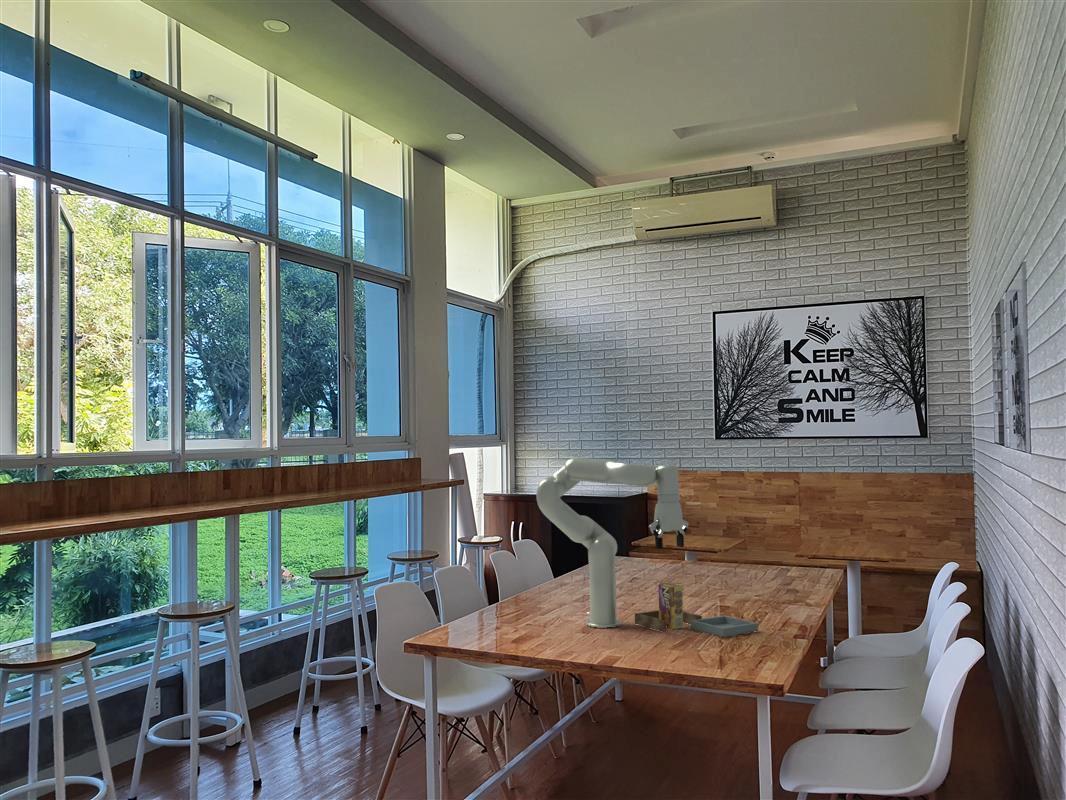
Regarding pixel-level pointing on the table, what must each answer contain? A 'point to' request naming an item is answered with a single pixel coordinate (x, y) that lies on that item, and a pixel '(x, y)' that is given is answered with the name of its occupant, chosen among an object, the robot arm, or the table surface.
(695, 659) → the table surface
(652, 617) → the walnut bay
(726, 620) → the slate tray
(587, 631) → the table surface
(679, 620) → the candy box
